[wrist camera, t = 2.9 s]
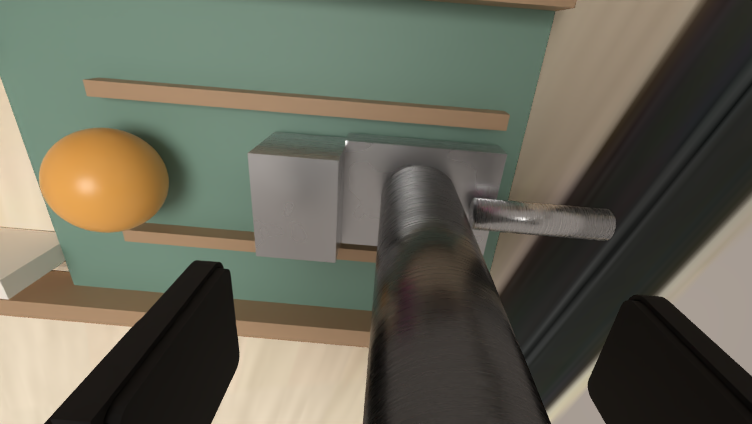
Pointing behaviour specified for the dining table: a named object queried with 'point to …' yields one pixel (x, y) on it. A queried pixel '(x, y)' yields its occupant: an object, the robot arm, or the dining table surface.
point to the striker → (415, 263)
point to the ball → (103, 180)
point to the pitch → (247, 134)
